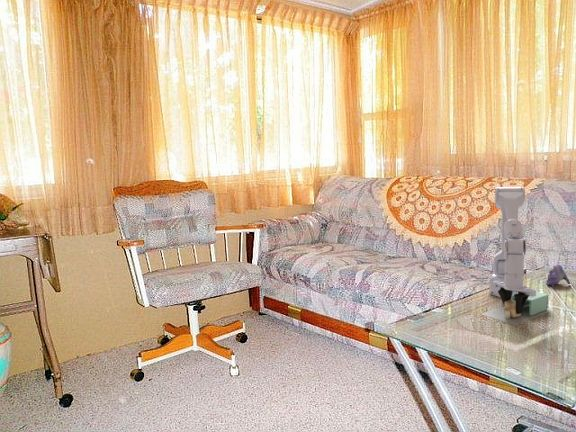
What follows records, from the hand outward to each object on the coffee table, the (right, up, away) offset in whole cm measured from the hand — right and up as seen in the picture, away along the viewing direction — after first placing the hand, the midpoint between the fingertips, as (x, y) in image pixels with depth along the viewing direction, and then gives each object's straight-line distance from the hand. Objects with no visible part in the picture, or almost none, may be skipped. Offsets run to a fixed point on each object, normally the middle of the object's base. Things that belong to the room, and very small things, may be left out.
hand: (513, 311), depth 160 cm
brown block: (0, -1, 0) cm, 1 cm away
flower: (+36, +4, +36) cm, 51 cm away
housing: (+8, 0, +5) cm, 10 cm away
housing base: (+3, -2, +4) cm, 5 cm away
